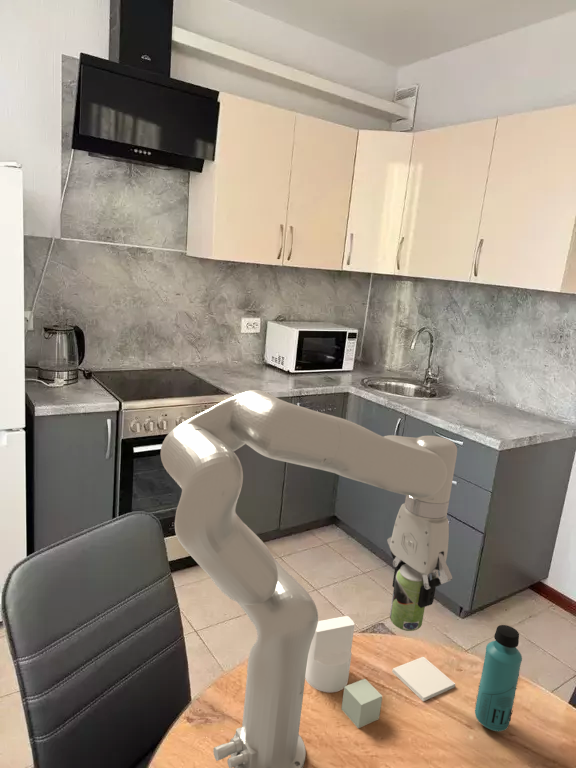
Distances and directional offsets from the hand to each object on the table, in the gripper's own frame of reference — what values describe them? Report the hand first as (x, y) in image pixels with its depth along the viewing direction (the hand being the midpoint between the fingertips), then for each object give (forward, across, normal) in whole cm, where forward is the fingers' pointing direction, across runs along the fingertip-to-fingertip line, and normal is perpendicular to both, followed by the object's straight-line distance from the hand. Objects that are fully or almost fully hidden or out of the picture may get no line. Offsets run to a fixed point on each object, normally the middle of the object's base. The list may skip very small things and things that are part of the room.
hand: (412, 594), depth 103 cm
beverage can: (+7, 0, 0) cm, 7 cm away
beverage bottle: (+23, +12, +13) cm, 29 cm away
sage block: (+24, -1, -8) cm, 25 cm away
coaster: (+23, -2, +10) cm, 25 cm away
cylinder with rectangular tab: (+24, -12, -8) cm, 28 cm away
